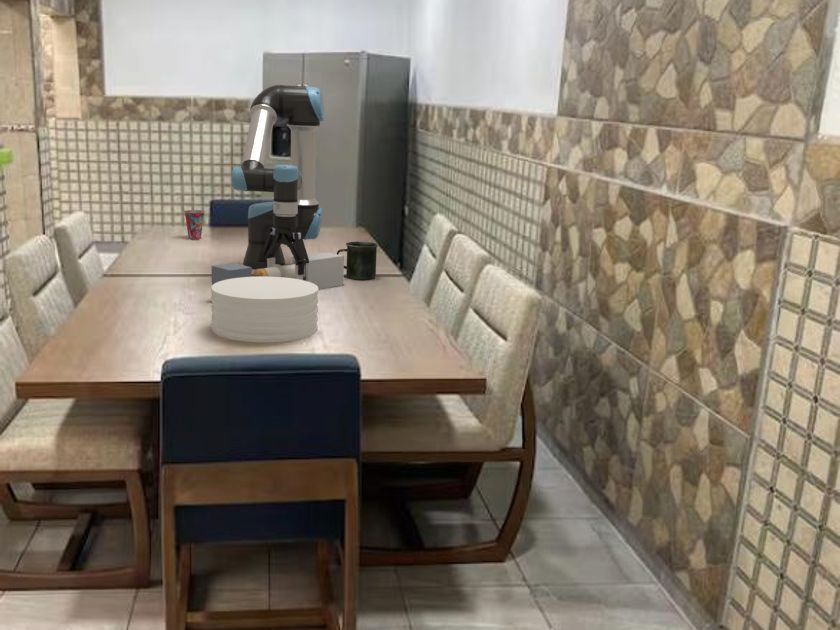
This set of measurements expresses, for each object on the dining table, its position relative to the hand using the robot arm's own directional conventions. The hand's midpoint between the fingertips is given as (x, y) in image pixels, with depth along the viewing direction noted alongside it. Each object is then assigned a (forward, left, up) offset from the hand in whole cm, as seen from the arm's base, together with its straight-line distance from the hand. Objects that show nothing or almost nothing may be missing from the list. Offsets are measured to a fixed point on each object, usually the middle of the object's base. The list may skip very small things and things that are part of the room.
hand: (284, 281), depth 269 cm
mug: (-3, +35, -4) cm, 36 cm away
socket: (0, -21, -3) cm, 21 cm away
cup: (-102, +36, -4) cm, 108 cm away
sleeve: (0, +14, -3) cm, 15 cm away
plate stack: (+31, -33, -4) cm, 45 cm away
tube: (0, +5, -1) cm, 5 cm away
